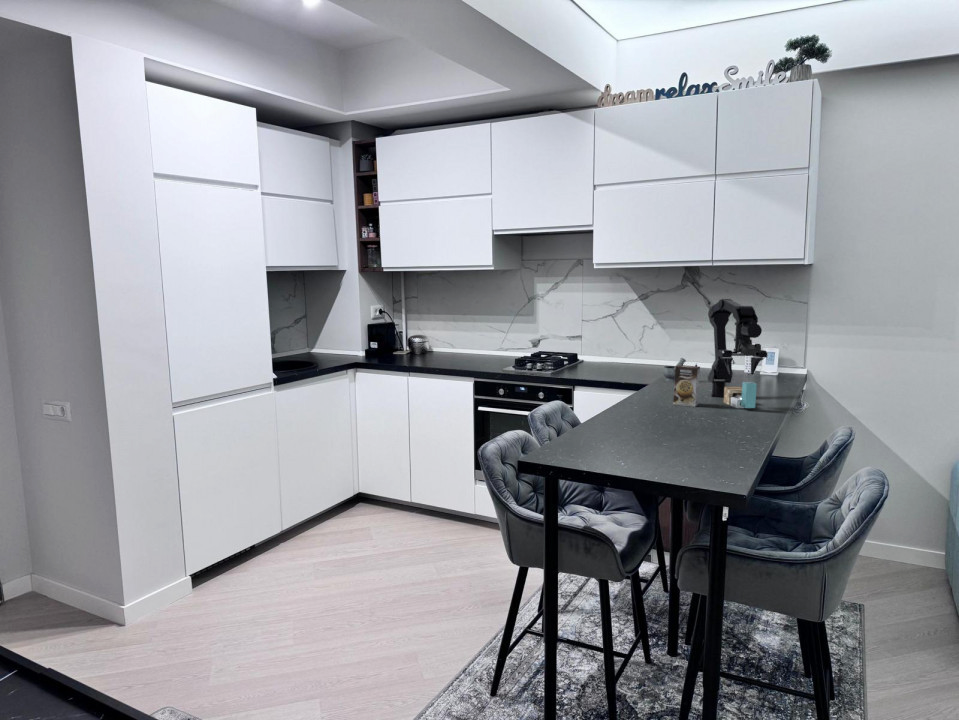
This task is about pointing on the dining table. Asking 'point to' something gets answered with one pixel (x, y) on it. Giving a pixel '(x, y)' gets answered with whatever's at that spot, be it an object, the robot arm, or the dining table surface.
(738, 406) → the white notched block
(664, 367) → the mortar and pestle
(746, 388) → the teal and silver mallet
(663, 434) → the dining table surface
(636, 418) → the dining table surface
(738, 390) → the socket
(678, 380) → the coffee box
